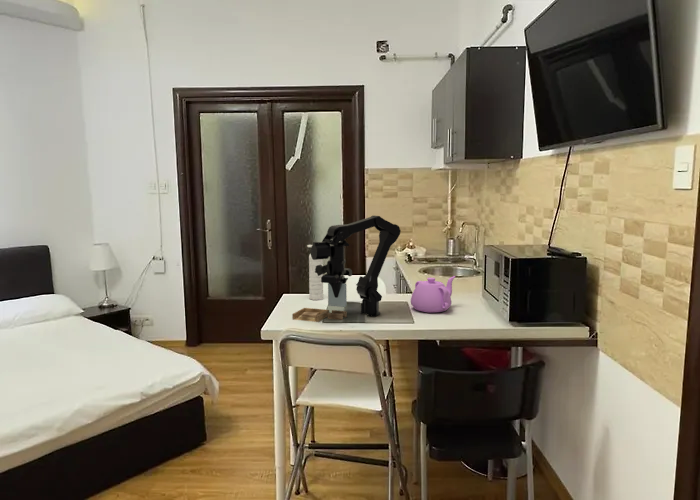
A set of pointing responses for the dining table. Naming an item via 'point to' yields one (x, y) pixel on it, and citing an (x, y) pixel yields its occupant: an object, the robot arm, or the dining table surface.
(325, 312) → the tray
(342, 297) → the grey rectangular slab
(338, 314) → the holder
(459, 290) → the dining table surface
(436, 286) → the teapot
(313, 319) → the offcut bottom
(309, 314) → the offcut top
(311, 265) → the water bottle
